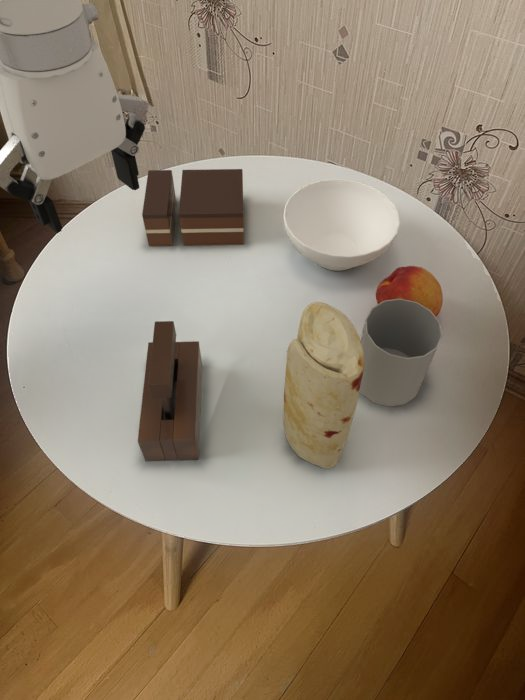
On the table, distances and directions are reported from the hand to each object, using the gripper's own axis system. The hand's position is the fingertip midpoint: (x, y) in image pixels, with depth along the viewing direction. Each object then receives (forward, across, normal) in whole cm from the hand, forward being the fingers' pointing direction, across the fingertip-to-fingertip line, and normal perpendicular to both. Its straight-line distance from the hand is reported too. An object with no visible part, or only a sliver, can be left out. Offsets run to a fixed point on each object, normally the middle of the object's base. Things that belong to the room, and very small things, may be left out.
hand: (91, 204), depth 60 cm
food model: (+19, -5, +29) cm, 35 cm away
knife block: (+19, +4, +16) cm, 25 cm away
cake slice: (+19, -15, -11) cm, 27 cm away
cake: (+19, -21, -6) cm, 29 cm away
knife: (+19, +4, +16) cm, 25 cm away
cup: (+19, -18, +30) cm, 40 cm away
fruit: (+19, -27, +26) cm, 42 cm away
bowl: (+19, -30, +11) cm, 37 cm away
